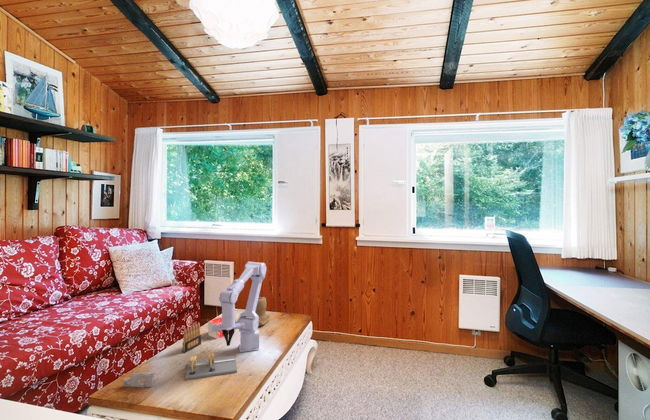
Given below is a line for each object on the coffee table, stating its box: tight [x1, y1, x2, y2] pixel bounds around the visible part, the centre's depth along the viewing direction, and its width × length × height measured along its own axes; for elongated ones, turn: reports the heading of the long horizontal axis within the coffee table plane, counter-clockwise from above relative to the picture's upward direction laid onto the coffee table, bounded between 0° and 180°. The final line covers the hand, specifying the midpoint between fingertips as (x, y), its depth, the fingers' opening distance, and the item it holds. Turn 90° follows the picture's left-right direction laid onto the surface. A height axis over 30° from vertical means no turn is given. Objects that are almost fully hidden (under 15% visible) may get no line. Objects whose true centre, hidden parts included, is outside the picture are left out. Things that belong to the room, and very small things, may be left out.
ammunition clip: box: [181, 321, 202, 354], centre depth 163 cm, size 11×2×12 cm, turn 157°
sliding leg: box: [207, 352, 215, 370], centre depth 144 cm, size 2×8×3 cm, turn 19°
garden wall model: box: [122, 371, 156, 388], centre depth 130 cm, size 12×2×6 cm, turn 91°
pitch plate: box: [185, 354, 238, 381], centre depth 144 cm, size 21×14×5 cm, turn 109°
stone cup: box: [255, 296, 271, 327], centre depth 198 cm, size 15×12×15 cm
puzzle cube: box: [207, 316, 229, 340], centre depth 179 cm, size 8×8×8 cm
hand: (228, 344), depth 148 cm, fingers closed
